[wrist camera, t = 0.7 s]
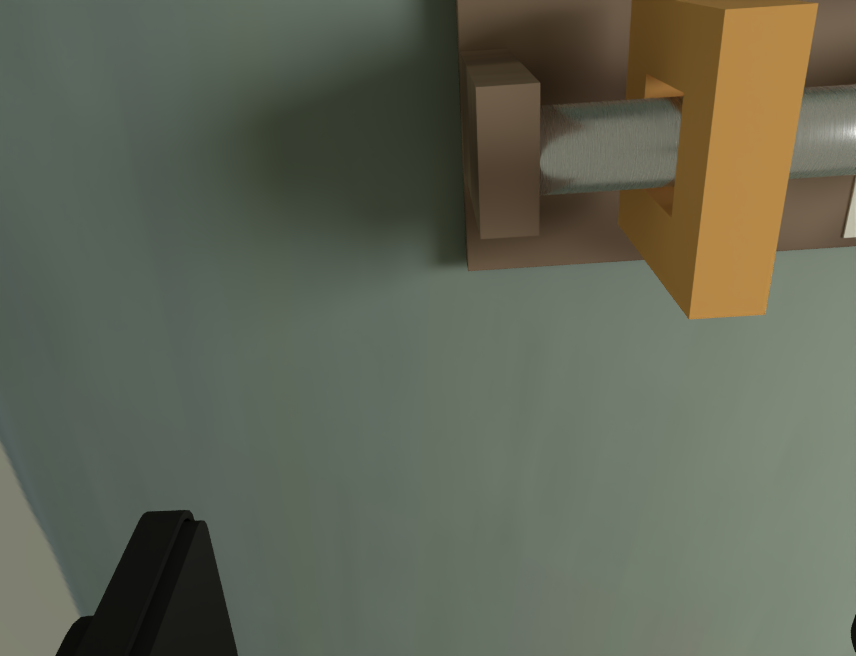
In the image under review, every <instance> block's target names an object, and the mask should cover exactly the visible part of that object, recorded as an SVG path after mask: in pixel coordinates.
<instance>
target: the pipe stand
mask: <svg viewBox="0 0 856 656" xmlns="http://www.w3.org/2000/svg"><path fill="white" fill-rule="evenodd" d="M798 1H806V2H814V3H818V9H817V15H816V21H815V27H814V32H813V38H812V44H811V50H810V56H809V62H808V68H807V73H806V79H805V85H804V91H803V97H802V103H801V108H800V114H799V120H798V126H797V132H796V138H795V144H794V149H793V155H792V161H791V167H790V173H789V179H788V184H787V190H786V196H785V202H784V208H783V214H782V220H781V225H780V231H779V237H778V243H777V249H776V251H787V250H802V249H818V248H833V247H849V246H856V0H798ZM631 4H632V0H456V16H457V40H458V65H459V89H460V113H461V138H462V162H463V186H464V211H465V235H466V259H467V265H468V271H477V270H492V269H508V268H523V267H539V266H554V265H570V264H585V263H601V262H616V261H632V260H644V258H643V257H642V256H641V254H640V253H639V252H638V250H637V249H636V248H635V246H634V245H633V244H632V242H631V241H630V240H629V238H628V237H627V236H626V234H625V233H624V232H623V230H622V229H621V228H620V226H619V225H618V215H619V199H620V190H631V189H646V188H661V187H674V186H675V176H676V166H677V156H678V145H679V135H680V125H681V114H682V104H683V96H674V97H660V98H645V99H630V100H626V85H627V69H628V53H629V37H630V21H631Z"/></svg>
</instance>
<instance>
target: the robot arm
mask: <svg viewBox="0 0 856 656" xmlns="http://www.w3.org/2000/svg"><path fill="white" fill-rule="evenodd" d="M851 639H852V644H853V647H854V650H855V652H856V615H855V618H854V621H853V624H852V627H851ZM56 656H238V654H237V649H236V644H235V640H234V636H233V632H232V628H231V623H230V619H229V615H228V611H227V607H226V602H225V598H224V594H223V590H222V585H221V581H220V577H219V573H218V569H217V564H216V560H215V556H214V552H213V548H212V543H211V539H210V535H209V531H208V527H207V524H206V522H205V521H202V520H200V521H195V520H194V517H193V514H192V513H191V512H190V511H189V510H176V511H152V512H146V513H144V514H143V515H142V517H141V518H140V520H139V522H138V524H137V526H136V528H135V530H134V532H133V534H132V537H131V539H130V541H129V543H128V545H127V547H126V549H125V551H124V553H123V555H122V558H121V560H120V562H119V564H118V566H117V568H116V570H115V572H114V574H113V576H112V579H111V581H110V583H109V585H108V587H107V589H106V591H105V593H104V595H103V597H102V599H101V602H100V604H99V606H98V608H97V610H96V612H95V614H94V616H85V617H80V618H79V619H78V620H77V621H76V622H75V623H73V625H72V626H71V628H70V629H69V631H68V632H67V634H66V636H65V638H64V640H63V642H62V644H61V646H60V648H59V650H58V652H57V654H56Z"/></svg>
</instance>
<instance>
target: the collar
mask: <svg viewBox="0 0 856 656" xmlns="http://www.w3.org/2000/svg"><path fill="white" fill-rule="evenodd" d="M817 9H818V3H814V2H806V1H798V0H632V4H631V21H630V37H629V53H628V69H627V85H626V100H630V99H645V98H660V97H674V96H683V104H682V114H681V125H680V135H679V145H678V156H677V166H676V176H675V186H674V187H661V188H646V189H631V190H620V199H619V215H618V225H619V226H620V228H621V229H622V230H623V232H624V233H625V234H626V236H627V237H628V238H629V240H630V241H631V242H632V244H633V245H634V246H635V248H636V249H637V250H638V252H639V253H640V254H641V256H642V257H643V258H644V260H645V261H646V262H647V264H648V265H649V266H650V268H651V269H652V270H653V272H654V273H655V274H656V276H657V277H658V278H659V280H660V281H661V283H662V284H663V285H664V287H665V288H666V289H667V291H668V292H669V293H670V295H671V296H672V297H673V299H674V300H675V301H676V303H677V304H678V305H679V307H680V308H681V309H682V311H683V312H684V313H685V315H686V316H687V317H688V319H702V318H718V317H734V316H749V315H765V313H766V307H767V301H768V296H769V290H770V284H771V278H772V272H773V266H774V260H775V255H776V249H777V243H778V237H779V231H780V225H781V220H782V214H783V208H784V202H785V196H786V190H787V184H788V179H789V173H790V167H791V161H792V155H793V149H794V144H795V138H796V132H797V126H798V120H799V114H800V108H801V103H802V97H803V91H804V85H805V79H806V73H807V68H808V62H809V56H810V50H811V44H812V38H813V32H814V27H815V21H816V15H817Z"/></svg>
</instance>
